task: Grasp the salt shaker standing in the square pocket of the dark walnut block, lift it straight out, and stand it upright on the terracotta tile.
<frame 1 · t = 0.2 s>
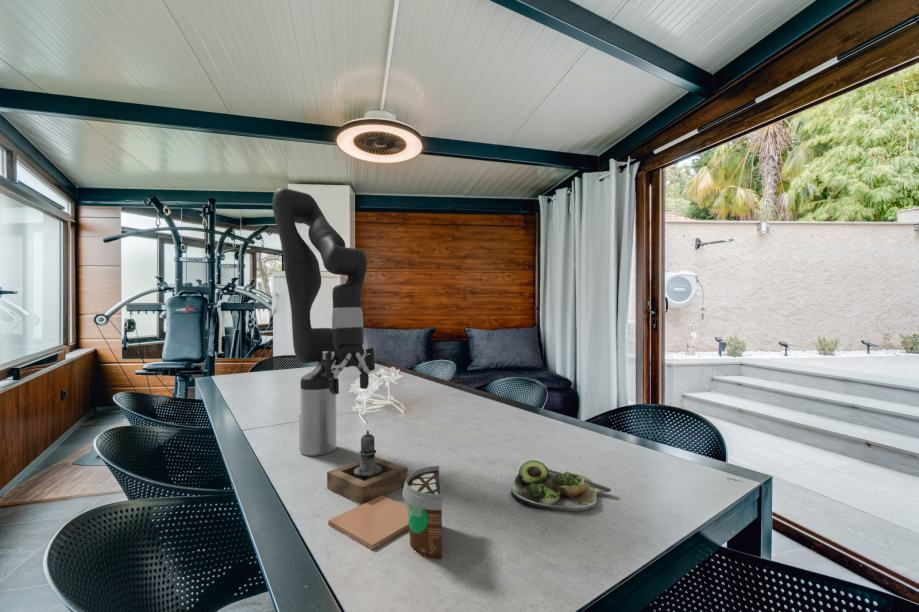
hand: (349, 391, 98), 18 cm above the table, tool pointing down, fingers open, 8 cm apart
food container: (421, 543, 64), on the table
terracotta tile: (377, 521, 70), on the table
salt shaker: (367, 487, 84), resting in walnut socket block
avocado toast plate: (551, 494, 81), on the table
walnut socket block: (367, 486, 84), on the table
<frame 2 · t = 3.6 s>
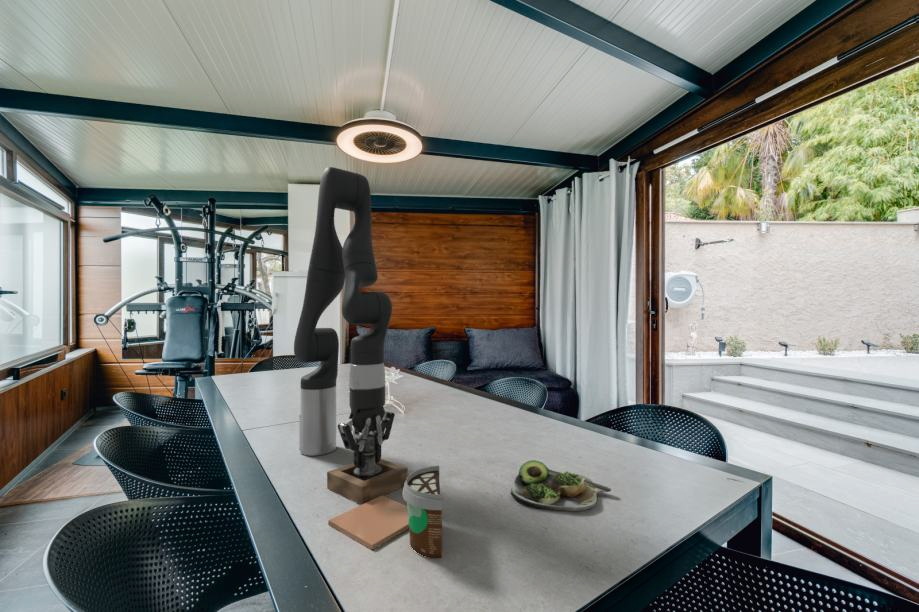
hand: (367, 464, 84), 5 cm above the table, tool pointing down, fingers closed on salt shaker, 3 cm apart
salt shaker: (367, 487, 84), resting in walnut socket block, touching gripper
everything else where it was.
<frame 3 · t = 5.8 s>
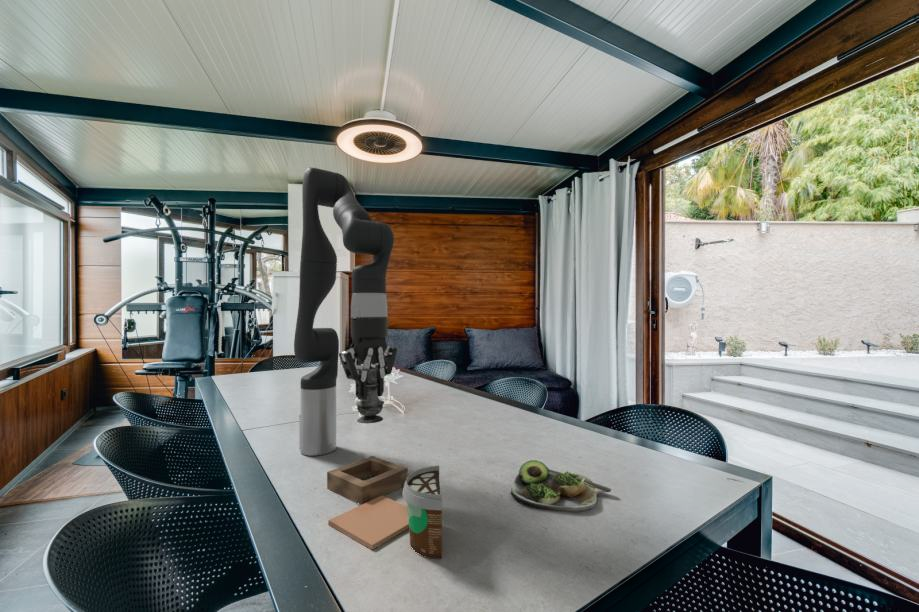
hand: (369, 397, 82), 20 cm above the table, tool pointing down, fingers closed on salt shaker, 3 cm apart
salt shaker: (370, 420, 82), point 15 cm above the table, touching gripper
everything else where it was.
when the fingers open (7 cm above the table, at t = 8.4 s): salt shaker drops 2 cm, resting on terracotta tile.
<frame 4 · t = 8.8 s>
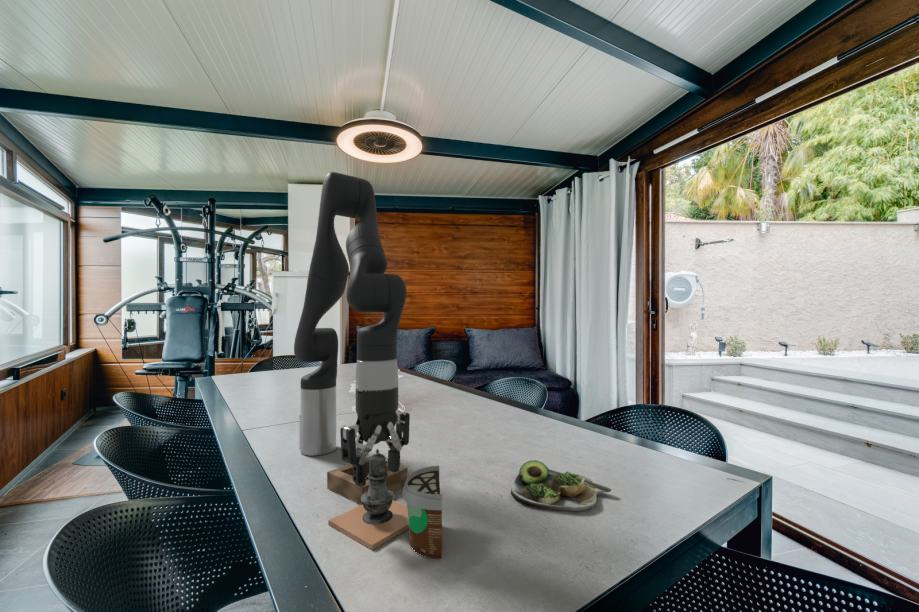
hand: (377, 477, 70), 8 cm above the table, tool pointing down, fingers open, 7 cm apart
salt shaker: (377, 517, 70), point 1 cm above the table, touching terracotta tile
everything else where it was.
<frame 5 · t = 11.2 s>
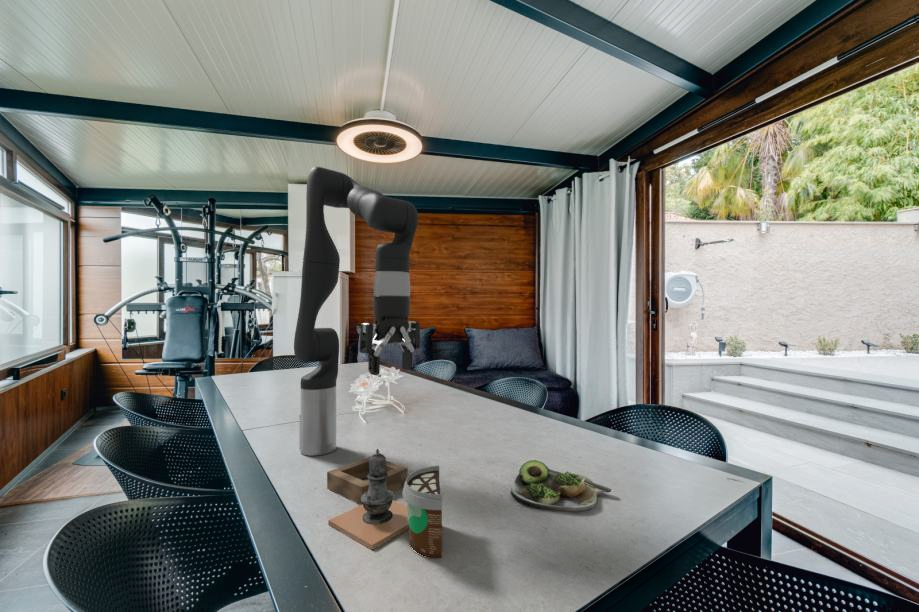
hand: (391, 372, 82), 25 cm above the table, tool pointing down, fingers open, 8 cm apart
nothing on the table moved.
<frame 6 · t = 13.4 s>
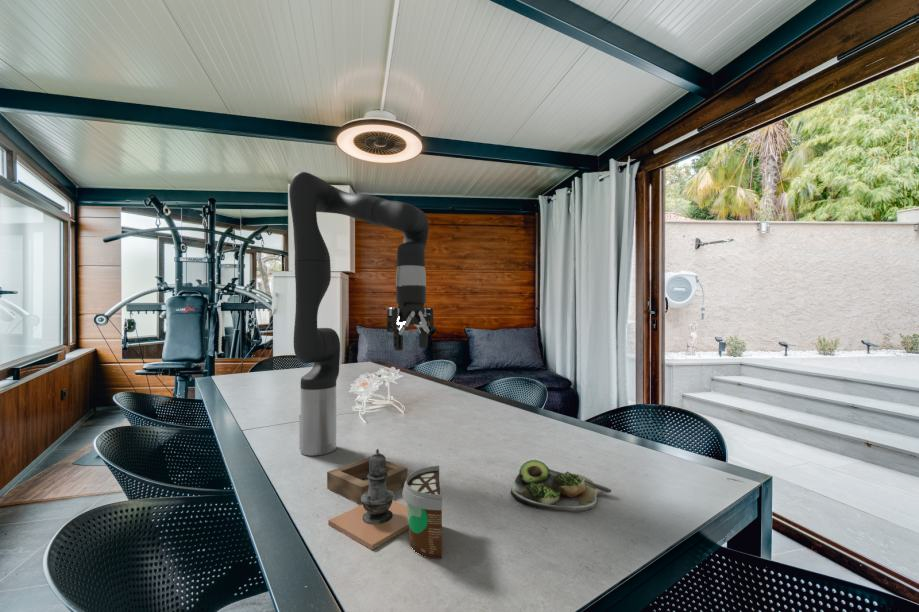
hand: (411, 349, 99), 28 cm above the table, tool pointing down, fingers open, 8 cm apart
nothing on the table moved.
at the end: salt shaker inside the target area on the terracotta tile (0.1 cm from its centre), point 0.6 cm above the terracotta tile's base; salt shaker tilted 0°; the gripper is holding nothing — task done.
